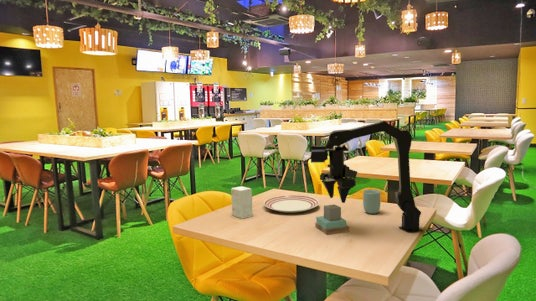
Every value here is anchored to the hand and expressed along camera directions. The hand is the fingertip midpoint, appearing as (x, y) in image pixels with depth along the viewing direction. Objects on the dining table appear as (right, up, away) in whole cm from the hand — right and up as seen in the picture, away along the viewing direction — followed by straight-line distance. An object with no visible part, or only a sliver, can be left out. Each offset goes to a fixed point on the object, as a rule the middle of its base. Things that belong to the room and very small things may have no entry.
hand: (337, 200), depth 153 cm
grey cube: (-2, -7, 0) cm, 8 cm away
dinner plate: (-16, -9, +34) cm, 39 cm away
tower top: (-3, -10, 0) cm, 10 cm away
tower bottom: (-2, -12, 0) cm, 13 cm away
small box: (-40, -10, +23) cm, 47 cm away
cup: (+20, -9, +22) cm, 31 cm away
